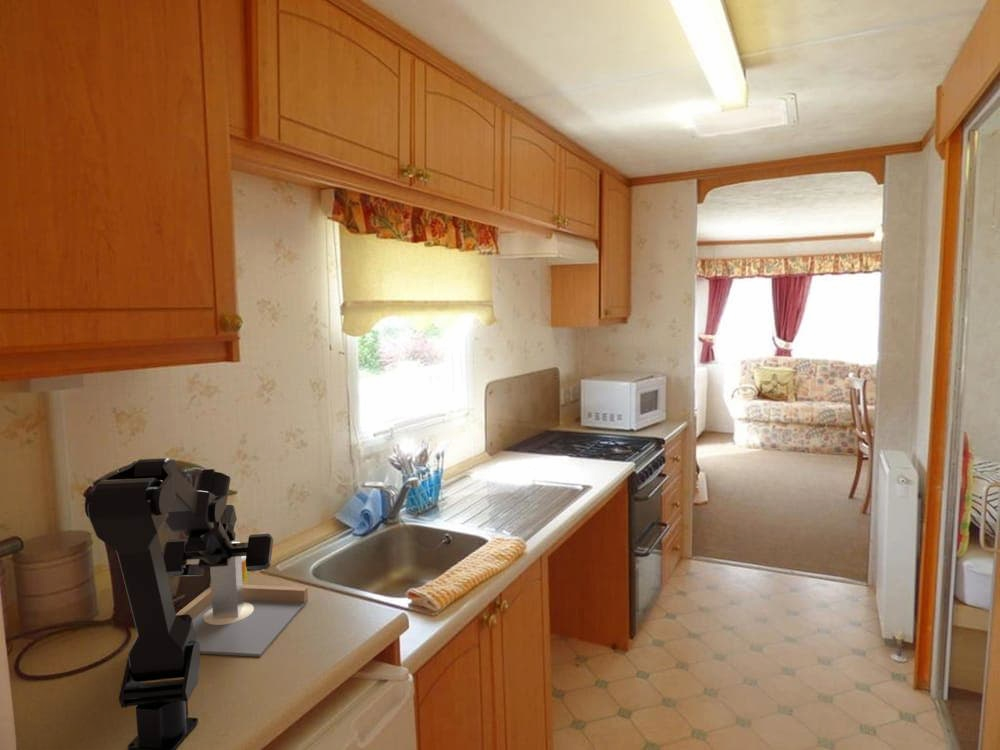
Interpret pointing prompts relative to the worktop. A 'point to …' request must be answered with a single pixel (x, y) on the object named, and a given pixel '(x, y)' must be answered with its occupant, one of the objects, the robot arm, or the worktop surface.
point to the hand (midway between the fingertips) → (228, 571)
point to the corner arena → (245, 620)
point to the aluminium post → (227, 589)
